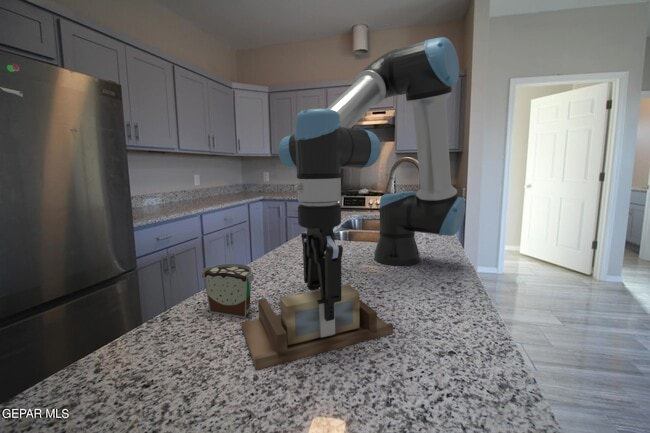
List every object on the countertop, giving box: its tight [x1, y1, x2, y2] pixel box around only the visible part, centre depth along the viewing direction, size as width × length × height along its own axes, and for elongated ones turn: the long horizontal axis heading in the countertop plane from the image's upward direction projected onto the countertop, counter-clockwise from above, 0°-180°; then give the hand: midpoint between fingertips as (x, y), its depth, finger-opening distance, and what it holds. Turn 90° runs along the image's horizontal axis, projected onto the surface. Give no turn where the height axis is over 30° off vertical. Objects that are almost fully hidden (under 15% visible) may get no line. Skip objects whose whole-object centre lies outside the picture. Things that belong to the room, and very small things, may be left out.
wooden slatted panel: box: [240, 285, 394, 371], centre depth 61 cm, size 26×15×5 cm, turn 113°
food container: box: [201, 263, 255, 319], centre depth 70 cm, size 12×6×10 cm, turn 71°
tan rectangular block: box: [279, 285, 361, 345], centre depth 57 cm, size 14×4×7 cm, turn 113°
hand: (322, 328), depth 58 cm, fingers closed on tan rectangular block, 4 cm apart
